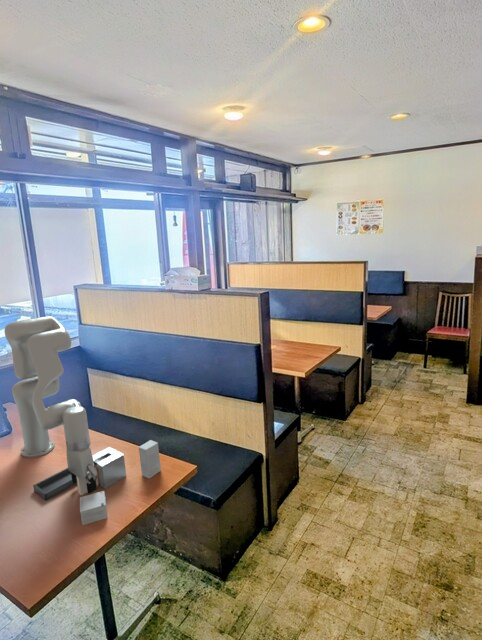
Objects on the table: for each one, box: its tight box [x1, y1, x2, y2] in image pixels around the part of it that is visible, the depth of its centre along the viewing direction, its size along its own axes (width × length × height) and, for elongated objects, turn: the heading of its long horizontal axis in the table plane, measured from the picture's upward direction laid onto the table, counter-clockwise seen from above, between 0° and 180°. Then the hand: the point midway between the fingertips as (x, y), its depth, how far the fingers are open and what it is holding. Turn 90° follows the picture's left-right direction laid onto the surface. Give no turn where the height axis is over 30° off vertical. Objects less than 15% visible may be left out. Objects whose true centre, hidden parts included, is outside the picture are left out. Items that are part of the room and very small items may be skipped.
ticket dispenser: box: [92, 446, 127, 489], centre depth 144 cm, size 9×9×9 cm
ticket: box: [76, 465, 100, 496], centre depth 141 cm, size 2×13×7 cm, turn 142°
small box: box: [79, 490, 108, 526], centre depth 126 cm, size 8×8×5 cm
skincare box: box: [138, 439, 162, 480], centre depth 146 cm, size 6×4×12 cm
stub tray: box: [33, 467, 77, 501], centre depth 143 cm, size 8×16×2 cm, turn 142°
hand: (84, 486), depth 138 cm, fingers open, 9 cm apart
